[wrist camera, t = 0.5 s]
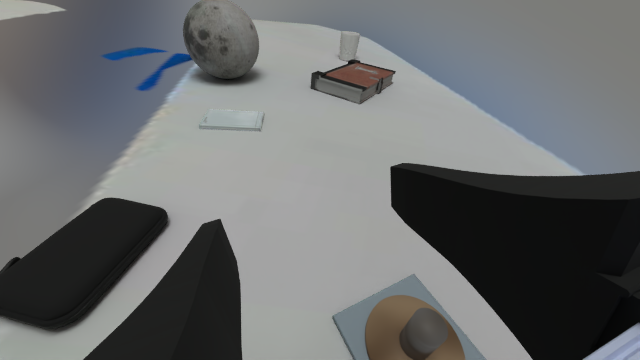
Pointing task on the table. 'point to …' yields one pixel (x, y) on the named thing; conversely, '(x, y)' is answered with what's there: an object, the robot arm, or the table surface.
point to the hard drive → (232, 120)
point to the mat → (357, 315)
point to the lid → (410, 332)
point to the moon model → (221, 38)
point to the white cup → (348, 45)
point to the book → (352, 81)
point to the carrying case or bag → (77, 263)
